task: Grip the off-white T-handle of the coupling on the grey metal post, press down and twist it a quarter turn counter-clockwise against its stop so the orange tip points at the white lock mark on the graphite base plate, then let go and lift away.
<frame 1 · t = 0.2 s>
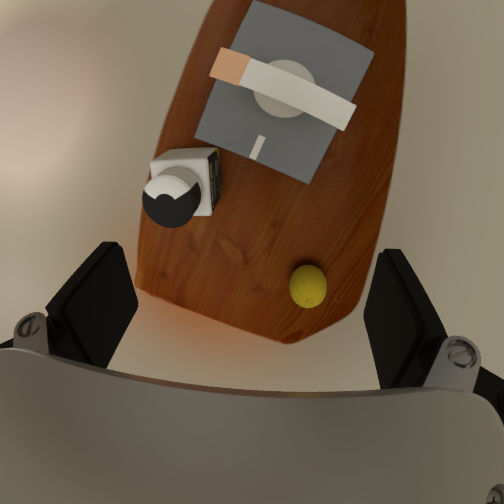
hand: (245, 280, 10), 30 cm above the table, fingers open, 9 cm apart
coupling: (283, 87, 23), point 11 cm above the table, hinge at 0.0°
lemon: (306, 269, 46), on the table
medicine bottle: (196, 171, 39), on the table
coupling base: (283, 89, 32), on the table
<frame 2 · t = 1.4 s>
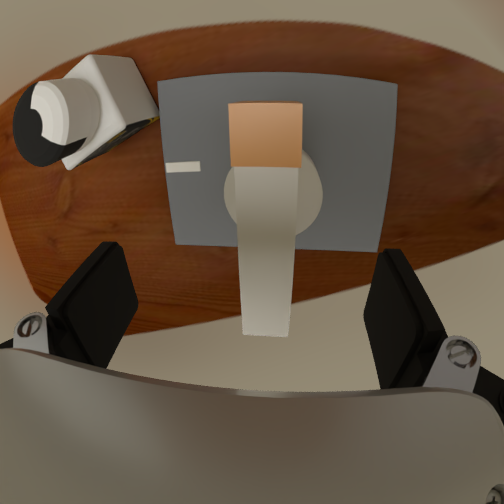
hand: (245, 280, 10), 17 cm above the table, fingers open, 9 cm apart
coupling: (271, 203, 16), point 11 cm above the table, hinge at 0.0°
medicine bottle: (120, 104, 23), on the table
coupling base: (277, 161, 25), on the table
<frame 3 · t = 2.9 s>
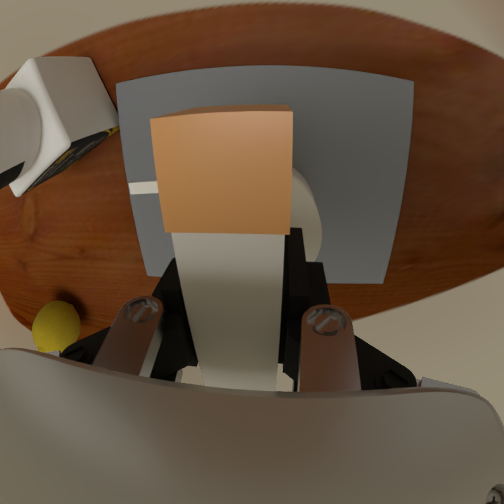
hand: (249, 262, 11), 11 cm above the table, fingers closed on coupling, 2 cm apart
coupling: (250, 253, 11), point 11 cm above the table, hinge at 0.0°, touching gripper
lemon: (73, 304, 30), on the table
medicine bottle: (78, 113, 19), on the table
coupling base: (264, 178, 21), on the table
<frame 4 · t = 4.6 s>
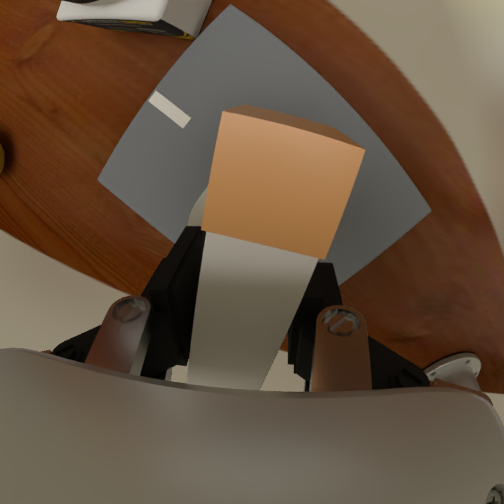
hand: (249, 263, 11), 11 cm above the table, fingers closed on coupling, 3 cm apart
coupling: (250, 257, 11), point 11 cm above the table, hinge at 29.6°, touching gripper
lemon: (5, 151, 20), on the table
coupling base: (264, 180, 21), on the table
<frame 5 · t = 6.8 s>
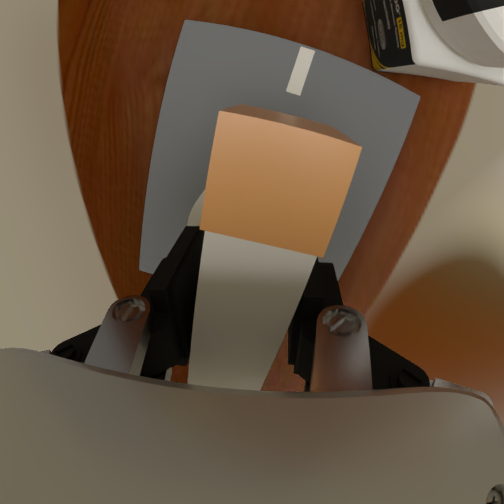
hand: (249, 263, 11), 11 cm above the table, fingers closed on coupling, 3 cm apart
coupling: (250, 257, 11), point 11 cm above the table, hinge at 94.0°, touching gripper
medicine bottle: (410, 31, 13), on the table
coupling base: (263, 180, 21), on the table
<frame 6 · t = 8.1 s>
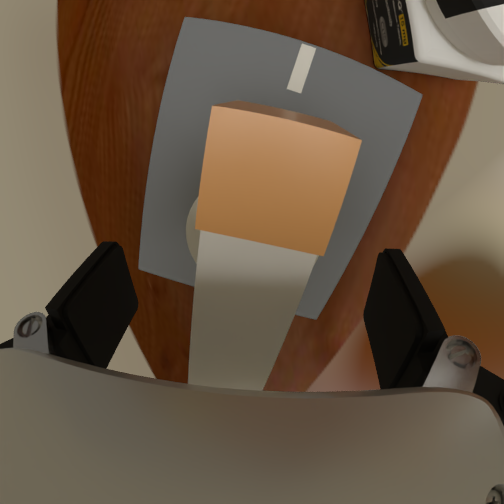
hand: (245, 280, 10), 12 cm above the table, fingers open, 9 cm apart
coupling: (250, 256, 11), point 11 cm above the table, hinge at 95.0°
medicine bottle: (412, 29, 13), on the table
coupling base: (263, 178, 20), on the table
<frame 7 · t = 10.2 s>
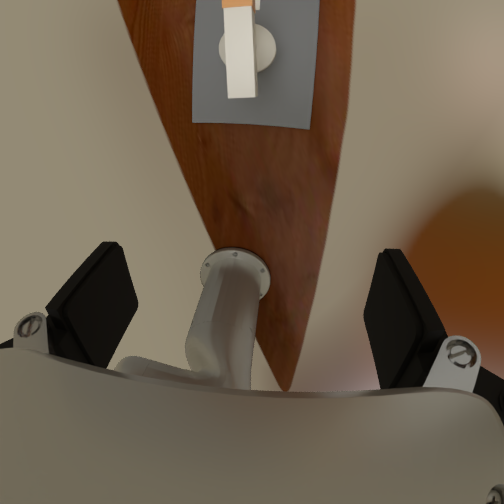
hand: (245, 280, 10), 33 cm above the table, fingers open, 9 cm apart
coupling: (245, 44, 23), point 11 cm above the table, hinge at 95.1°
coupling base: (254, 54, 32), on the table
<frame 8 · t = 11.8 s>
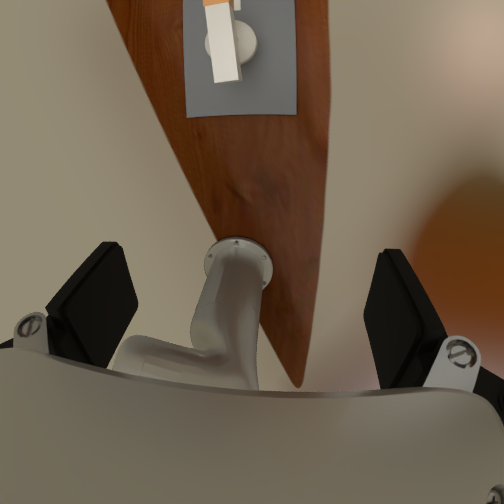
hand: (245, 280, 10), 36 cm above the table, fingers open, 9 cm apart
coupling: (227, 38, 26), point 11 cm above the table, hinge at 95.1°
coupling base: (239, 51, 35), on the table
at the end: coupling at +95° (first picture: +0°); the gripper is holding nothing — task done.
